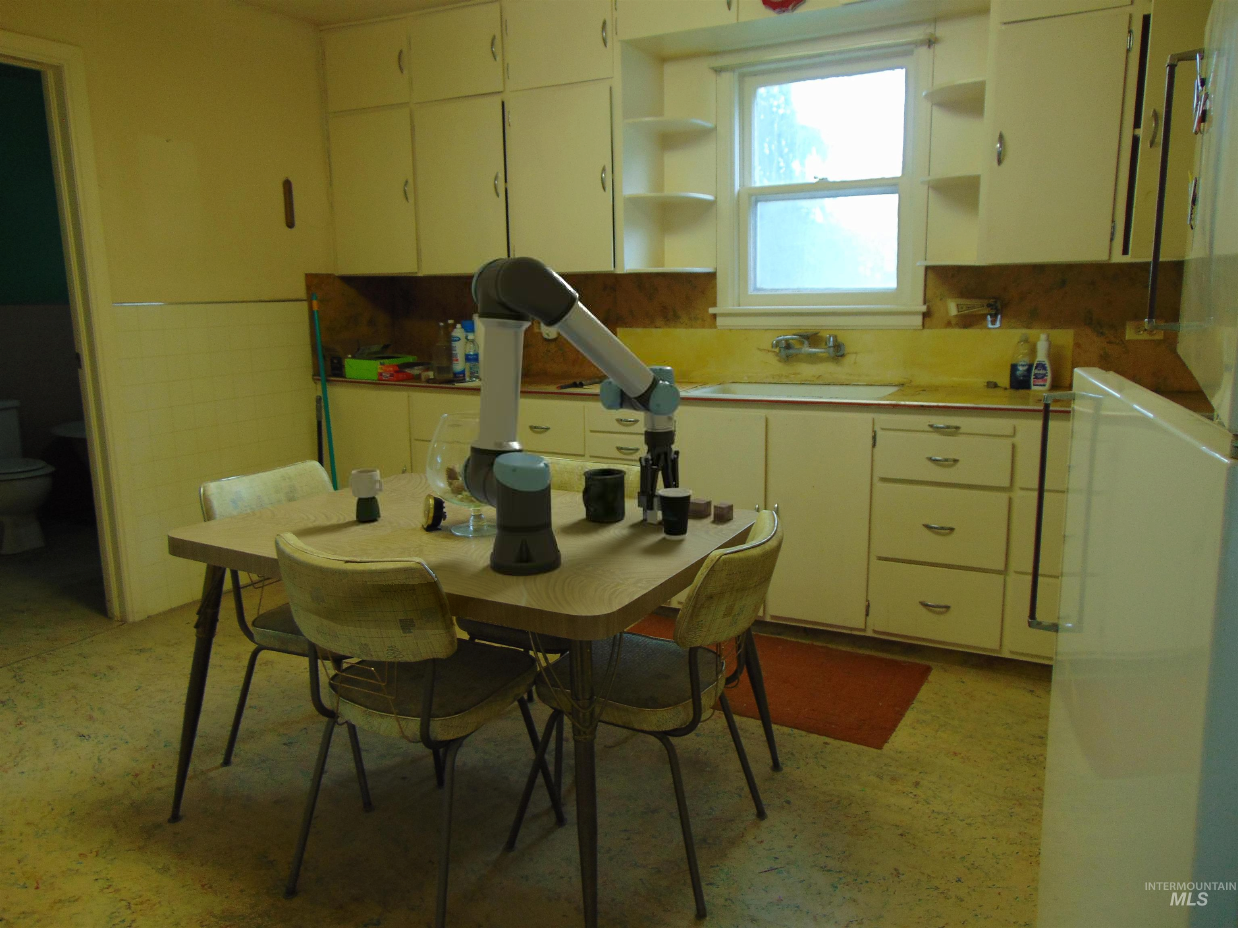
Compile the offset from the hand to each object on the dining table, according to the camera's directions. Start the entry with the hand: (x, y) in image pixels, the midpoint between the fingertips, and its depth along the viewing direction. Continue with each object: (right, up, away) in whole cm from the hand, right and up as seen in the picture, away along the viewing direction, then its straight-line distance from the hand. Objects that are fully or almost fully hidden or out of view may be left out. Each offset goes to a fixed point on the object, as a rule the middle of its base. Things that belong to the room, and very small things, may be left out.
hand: (660, 519), depth 226 cm
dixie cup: (+3, -3, -15) cm, 15 cm away
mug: (-15, 0, +3) cm, 15 cm away
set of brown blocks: (+11, +1, +6) cm, 12 cm away
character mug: (-75, -1, +6) cm, 76 cm away
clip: (0, 0, 0) cm, 0 cm away
